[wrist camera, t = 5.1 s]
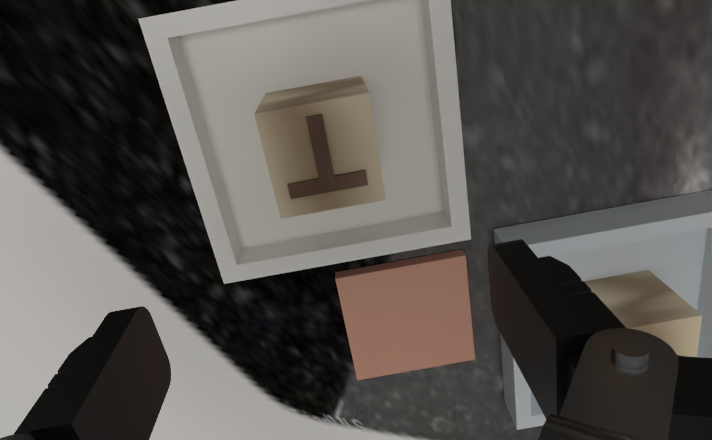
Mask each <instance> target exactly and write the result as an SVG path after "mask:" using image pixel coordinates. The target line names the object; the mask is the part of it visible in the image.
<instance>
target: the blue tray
mask: <svg viewBox="0 0 712 440" xmlns="http://www.w3.org/2000/svg"><path fill="white" fill-rule="evenodd" d="M493 232H494V244H497V243H502V242H508V241H513V240H519V239H522V240H524V241H525V243H526V244H527V245H528V246H529V247H530V249H531V250H532V251H533V252H534V254H535V255H536V256H537V257H538V258H540V257H546V256H551V257H553V258H555V259H557V260H559V261H561V262H563V263H565V264H567V265H569V266H570V267H571V268H572V269H573V270H574V271H575V272H576V273H577V274H578V276H579V277H580V278H581V281H589V280H594V279H600V278H605V277H611V276H617V275H622V274H628V273H633V272H639V271H645V270H649V271H651V272H652V273H653V274H654V275H655V276H657V277H658V278H659V279H660V280H661V281H662V282H664V283H665V284H666V285H667V286H668V287H670V288H671V289H672V290H673V291H674V292H675V293H677V294H678V295H679V296H680V297H681V298H683V299H684V300H685V301H686V302H687V303H688V304H690V305H691V306H692V307H693V308H694V309H696V310H697V311H698V312H699V313H700V314H701V315H702V322H701V329H700V337H699V344H698V352H697V357H702V358H712V190H708V191H703V192H697V193H692V194H686V195H681V196H675V197H670V198H664V199H658V200H653V201H647V202H642V203H636V204H631V205H625V206H620V207H614V208H608V209H603V210H597V211H592V212H586V213H581V214H575V215H570V216H564V217H559V218H553V219H547V220H542V221H536V222H531V223H525V224H520V225H514V226H509V227H503V228H497V229H493ZM500 340H501V356H502V371H503V387H504V402H505V404H506V406H507V409H508V411H509V413H510V415H511V417H512V420H513V422H514V424H515V426H516V429H517V430H519V429H525V428H530V427H536V426H542V425H544V423H545V421H546V418H545V416H544V414H543V412H542V410H541V408H540V407H539V405H538V403H537V401H536V399H535V397H534V395H533V393H532V391H531V390H530V388H529V386H528V384H527V382H526V380H525V378H524V376H523V375H522V373H521V371H520V369H519V367H518V365H517V363H516V361H515V359H514V358H513V356H512V354H511V352H510V350H509V348H508V346H507V344H506V343H505V341H504V339H503V337H502V335H501V333H500Z"/></svg>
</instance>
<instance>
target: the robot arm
mask: <svg viewBox="0 0 712 440" xmlns="http://www.w3.org/2000/svg"><path fill="white" fill-rule="evenodd" d="M488 265H489V279H490V294H491V305H492V311H493V315H494V319H495V322H496V325H497V327H498V329H499V331H500V333H501V335H502V337H503V339H504V341H505V343H506V344H507V346H508V348H509V350H510V352H511V354H512V356H513V358H514V359H515V361H516V363H517V365H518V367H519V369H520V371H521V373H522V375H523V376H524V378H525V380H526V382H527V384H528V386H529V388H530V390H531V391H532V393H533V395H534V397H535V399H536V401H537V403H538V405H539V407H540V408H541V410H542V412H543V414H544V416H545V418H546V421H545V423H544V426H543V428H542V431H541V433H540V436H539V438H538V440H712V358H702V357H687V356H679V355H677V354H676V353H675V351H674V350H673V348H672V347H671V346H670V345H669V344H667V343H666V342H665V341H663V340H662V339H660V338H658V337H656V336H654V335H652V334H650V333H647V332H644V331H640V330H636V329H629V328H626V327H625V326H624V325H623V324H622V323H621V321H620V320H619V319H618V318H617V317H616V316H615V315H614V314H613V313H612V312H611V311H610V309H609V308H608V307H607V306H606V305H605V304H604V303H603V302H602V301H601V300H600V299H599V297H598V296H597V295H596V294H595V293H594V292H591V289H590V288H589V287H588V285H587V284H586V283H585V282H584V281H581V278H580V277H579V276H578V274H577V273H576V272H575V271H574V270H573V269H572V268H571V267H570V266H569V265H567V264H565V263H563V262H561V261H559V260H557V259H555V258H553V257H551V256H546V257H540V258H538V257H537V256H536V255H535V254H534V252H533V251H532V250H531V249H530V247H529V246H528V245H527V244H526V243H525V241H524V240H522V239H519V240H513V241H508V242H502V243H497V244H491V245H489V247H488ZM170 380H171V368H170V363H169V359H168V356H167V354H166V351H165V349H164V347H163V344H162V342H161V339H160V336H159V334H158V332H157V329H156V327H155V324H154V322H153V319H152V317H151V315H150V312H149V311H148V310H147V309H146V308H145V307H137V308H131V309H125V310H120V311H114V312H110V313H108V315H107V316H106V317H105V318H104V320H103V322H102V323H101V324H100V326H99V328H98V329H97V331H96V332H95V334H94V335H93V337H90V338H88V339H87V340H85V341H84V342H83V343H82V344H81V345H79V346H78V347H77V348H76V349H75V350H74V351H73V352H71V353H70V354H69V355H68V357H67V358H66V360H65V361H64V363H63V364H62V366H61V367H60V369H59V370H58V374H55V376H54V377H53V379H52V380H51V382H50V383H49V384H48V388H47V389H45V390H44V391H43V393H42V395H41V396H40V397H39V399H38V400H37V402H36V403H35V405H34V406H33V407H32V409H31V410H30V412H29V413H28V414H27V416H26V417H25V419H24V420H23V422H22V423H21V425H20V426H19V427H18V429H17V430H16V432H15V433H14V435H10V436H6V437H3V438H0V440H149V438H150V435H151V433H152V430H153V427H154V425H155V422H156V419H157V417H158V414H159V412H160V409H161V406H162V404H163V401H164V399H165V396H166V393H167V391H168V388H169V385H170Z"/></svg>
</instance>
